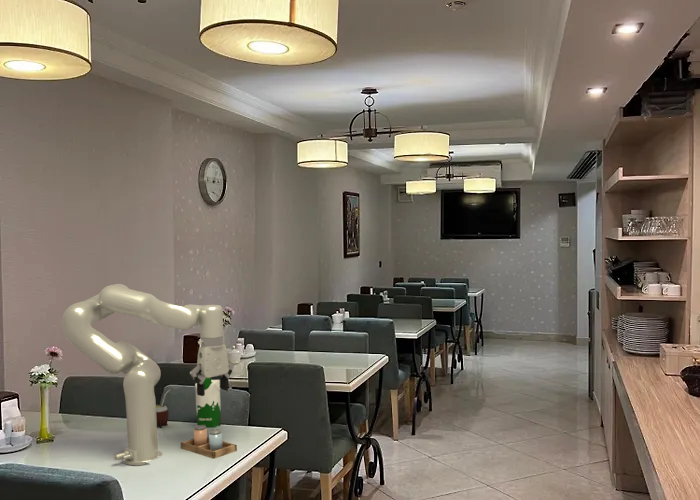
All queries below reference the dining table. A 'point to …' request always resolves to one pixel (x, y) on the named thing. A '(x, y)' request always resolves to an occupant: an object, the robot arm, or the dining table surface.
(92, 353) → the robot arm
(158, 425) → the mate gourd
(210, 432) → the salt shaker
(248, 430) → the dining table surface
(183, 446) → the caddy
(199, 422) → the milk carton
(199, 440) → the pepper shaker
